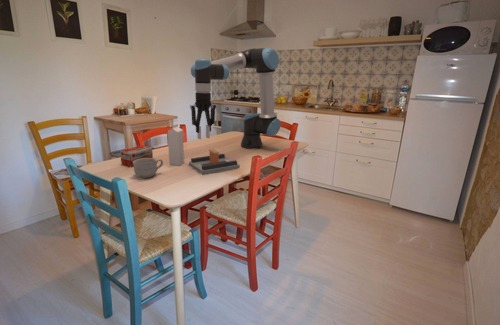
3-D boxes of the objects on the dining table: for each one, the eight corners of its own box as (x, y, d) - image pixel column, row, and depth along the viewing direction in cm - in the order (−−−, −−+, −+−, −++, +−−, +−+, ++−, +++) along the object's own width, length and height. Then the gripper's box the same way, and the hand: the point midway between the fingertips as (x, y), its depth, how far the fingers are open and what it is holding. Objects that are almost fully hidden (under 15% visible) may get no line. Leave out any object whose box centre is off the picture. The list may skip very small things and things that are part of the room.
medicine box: (131, 167, 149) (130, 153, 147) (121, 165, 153) (119, 150, 150) (153, 160, 162) (152, 147, 159) (143, 158, 165) (142, 145, 163)
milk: (169, 164, 156) (166, 125, 149) (174, 161, 161) (172, 123, 154) (179, 166, 154) (177, 126, 147) (184, 162, 160) (182, 124, 153)
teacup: (134, 180, 132) (133, 164, 129) (133, 173, 141) (132, 157, 139) (165, 177, 137) (164, 161, 135) (162, 170, 147) (161, 155, 144)
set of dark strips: (223, 157, 166) (223, 153, 166) (237, 164, 154) (237, 161, 153) (191, 161, 156) (191, 158, 155) (203, 170, 143) (203, 166, 142)
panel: (223, 159, 168) (223, 156, 168) (239, 168, 154) (239, 164, 154) (188, 165, 156) (188, 161, 156) (202, 175, 142) (202, 171, 142)
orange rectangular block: (213, 161, 158) (213, 149, 156) (218, 164, 153) (218, 152, 151) (209, 161, 156) (209, 149, 154) (214, 164, 152) (214, 152, 149)
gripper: (215, 91, 147) (215, 135, 155) (183, 91, 138) (185, 138, 145) (222, 92, 142) (221, 138, 149) (189, 92, 132) (190, 141, 139)
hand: (203, 138), depth 147 cm, fingers open, 4 cm apart
